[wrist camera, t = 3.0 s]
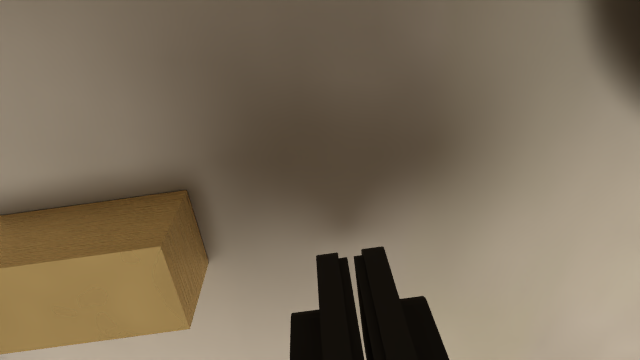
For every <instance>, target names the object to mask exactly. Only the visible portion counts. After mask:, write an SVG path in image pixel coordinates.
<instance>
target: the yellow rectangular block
mask: <svg viewBox="0 0 640 360" xmlns="http://www.w3.org/2000/svg"><path fill="white" fill-rule="evenodd" d="M208 263H209V262H208V258H207V255H206V252H205V248H204V245H203V242H202V239H201V235H200V232H199V229H198V225H197V222H196V219H195V215H194V212H193V209H192V205H191V202H190V199H189V196H188V192H187V190H183V191H176V192H169V193H161V194H154V195H147V196H140V197H132V198H125V199H118V200H111V201H104V202H96V203H89V204H82V205H75V206H67V207H60V208H53V209H46V210H38V211H31V212H24V213H17V214H9V215H2V216H0V354H6V353H14V352H21V351H29V350H36V349H43V348H51V347H58V346H66V345H73V344H81V343H88V342H96V341H103V340H111V339H118V338H125V337H133V336H140V335H148V334H155V333H163V332H170V331H178V330H185V329H190V326H191V323H192V319H193V316H194V312H195V309H196V305H197V302H198V298H199V295H200V291H201V288H202V284H203V281H204V277H205V274H206V270H207V266H208Z"/></svg>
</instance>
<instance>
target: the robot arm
mask: <svg viewBox="0 0 640 360" xmlns="http://www.w3.org/2000/svg"><path fill="white" fill-rule="evenodd" d="M361 251H362V255H360V256H354V263H355V272H356V280H357V289H358V297H359V306H360V314H361V323H362V332H363V340H364V347H365V353H366V358H367V360H449V358H448V355H447V352H446V350H445V347H444V345H443V342H442V339H441V337H440V334H439V332H438V329H437V326H436V324H435V321H434V319H433V316H432V313H431V311H430V308H429V306H428V303H427V301H426V299H425V297H424V296H420V297H412V298H404V299H399V296H398V292H397V289H396V286H395V283H394V279H393V276H392V273H391V269H390V266H389V263H388V259H387V256H386V253H385V250H384V247H376V248H368V249H362V250H361ZM316 261H317V278H318V294H319V310H313V311H305V312H297V313H292V314H291V334H290V360H364V356H363V350H362V344H361V338H360V332H359V326H358V320H357V314H356V308H355V302H354V296H353V290H352V284H351V278H350V272H349V266H348V260H347V257H345V258H338V253H331V254H323V255H316Z"/></svg>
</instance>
